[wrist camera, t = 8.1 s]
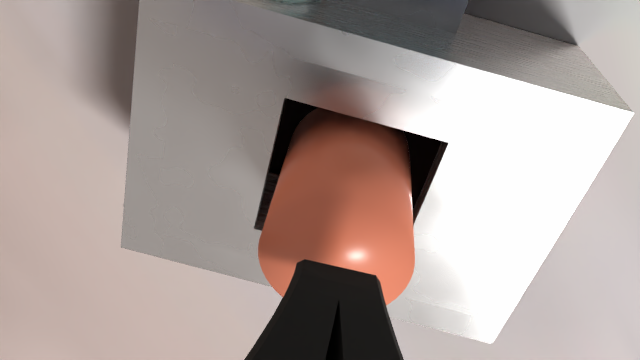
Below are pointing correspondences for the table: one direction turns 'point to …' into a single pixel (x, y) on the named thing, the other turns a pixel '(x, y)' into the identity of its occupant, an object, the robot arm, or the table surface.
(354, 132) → the push button
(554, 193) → the block with square hole
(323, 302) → the robot arm
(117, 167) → the table surface
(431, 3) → the rail
